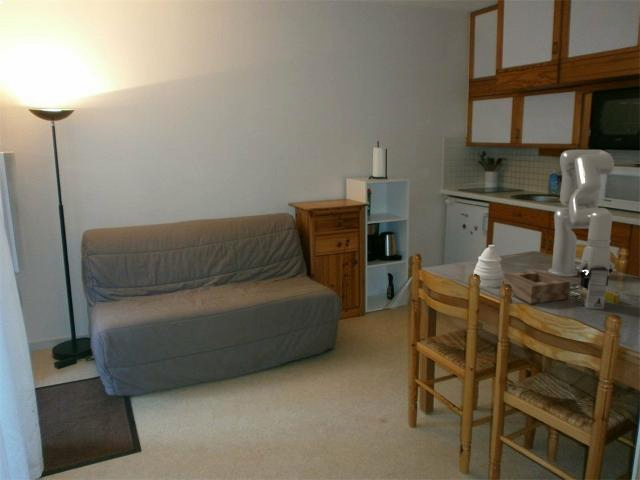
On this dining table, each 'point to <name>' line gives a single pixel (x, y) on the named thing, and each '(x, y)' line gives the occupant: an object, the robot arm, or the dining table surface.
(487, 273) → the honey pot
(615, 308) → the dining table surface
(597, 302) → the coffee box
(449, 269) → the dining table surface
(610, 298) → the medication box
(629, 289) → the dining table surface
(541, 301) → the well block
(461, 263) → the dining table surface
